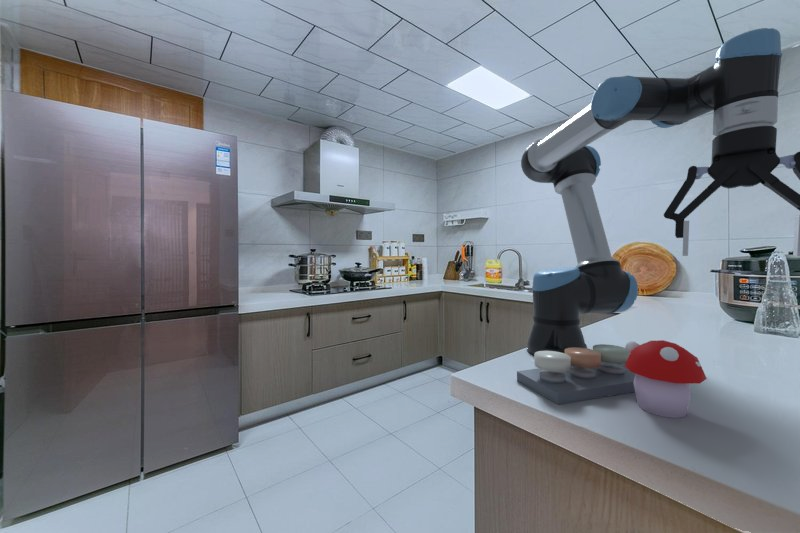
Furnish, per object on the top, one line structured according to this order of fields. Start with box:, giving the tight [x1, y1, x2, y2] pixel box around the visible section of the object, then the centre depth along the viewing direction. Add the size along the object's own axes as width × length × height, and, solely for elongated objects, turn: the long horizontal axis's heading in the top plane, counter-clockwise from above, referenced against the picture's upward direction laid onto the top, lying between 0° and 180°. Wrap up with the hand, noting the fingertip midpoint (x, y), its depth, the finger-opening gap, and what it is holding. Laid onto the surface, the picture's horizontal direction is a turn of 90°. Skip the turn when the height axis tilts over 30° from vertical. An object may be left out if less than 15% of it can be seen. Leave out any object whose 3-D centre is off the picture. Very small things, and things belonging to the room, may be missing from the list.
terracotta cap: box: [565, 347, 601, 368], centre depth 66 cm, size 7×7×2 cm
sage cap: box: [592, 343, 630, 365], centre depth 68 cm, size 7×7×2 cm
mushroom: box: [624, 339, 707, 419], centre depth 55 cm, size 11×11×12 cm
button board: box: [516, 361, 636, 405], centre depth 66 cm, size 12×23×3 cm, turn 105°
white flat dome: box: [533, 351, 571, 372], centre depth 64 cm, size 7×7×2 cm
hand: (737, 256), depth 56 cm, fingers open, 13 cm apart
